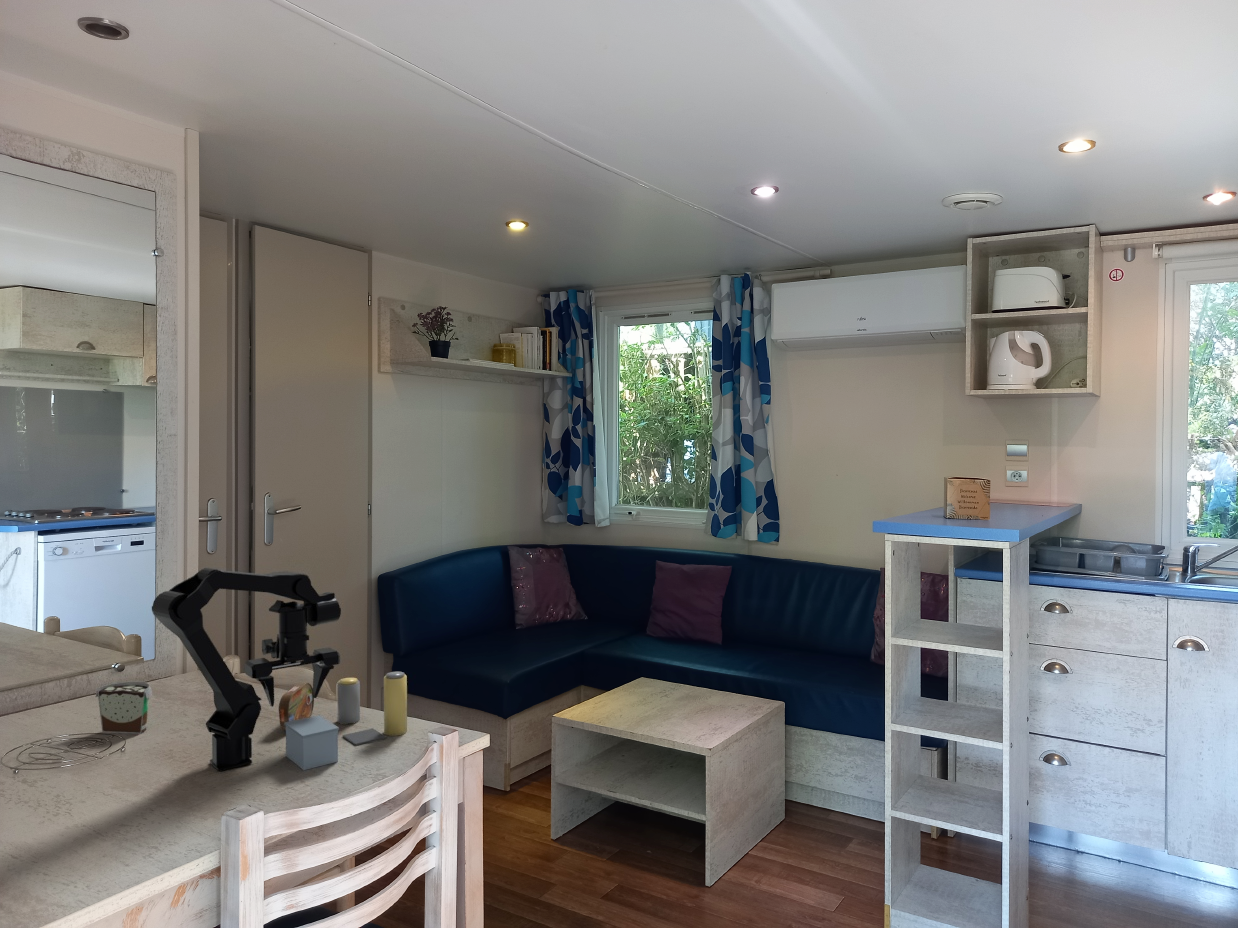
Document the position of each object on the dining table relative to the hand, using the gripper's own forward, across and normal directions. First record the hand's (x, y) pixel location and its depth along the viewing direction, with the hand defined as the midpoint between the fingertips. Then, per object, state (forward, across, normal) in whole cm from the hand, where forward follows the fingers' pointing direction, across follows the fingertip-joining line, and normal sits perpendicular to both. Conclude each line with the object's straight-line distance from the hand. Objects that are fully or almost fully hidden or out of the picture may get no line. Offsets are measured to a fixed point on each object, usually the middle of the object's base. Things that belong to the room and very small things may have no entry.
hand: (293, 701), depth 185 cm
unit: (+9, 0, +12) cm, 15 cm away
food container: (+9, +25, -34) cm, 43 cm away
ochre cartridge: (+9, -20, +8) cm, 23 cm away
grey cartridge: (+9, -15, -6) cm, 19 cm away
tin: (+9, -5, -12) cm, 16 cm away
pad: (+9, -13, +7) cm, 17 cm away
